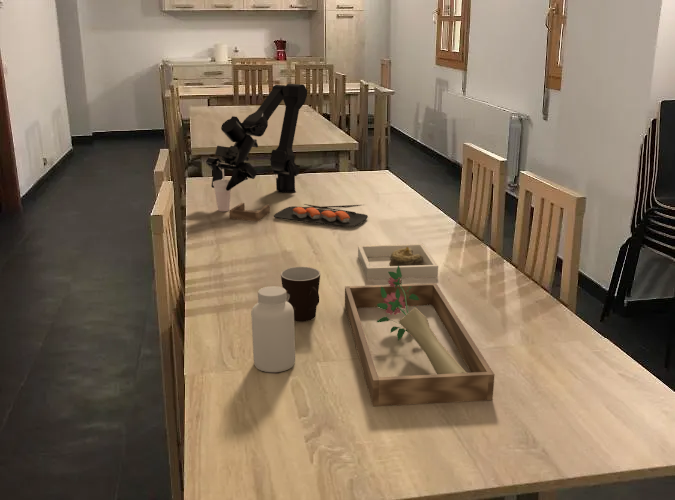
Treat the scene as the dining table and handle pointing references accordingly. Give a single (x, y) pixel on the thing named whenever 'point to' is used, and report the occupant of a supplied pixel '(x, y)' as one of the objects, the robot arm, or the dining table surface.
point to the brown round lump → (405, 258)
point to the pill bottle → (273, 330)
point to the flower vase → (417, 327)
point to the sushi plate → (322, 215)
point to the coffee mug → (302, 291)
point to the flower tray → (420, 386)
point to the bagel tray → (406, 271)
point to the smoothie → (222, 194)
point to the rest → (248, 213)
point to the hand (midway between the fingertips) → (219, 188)
